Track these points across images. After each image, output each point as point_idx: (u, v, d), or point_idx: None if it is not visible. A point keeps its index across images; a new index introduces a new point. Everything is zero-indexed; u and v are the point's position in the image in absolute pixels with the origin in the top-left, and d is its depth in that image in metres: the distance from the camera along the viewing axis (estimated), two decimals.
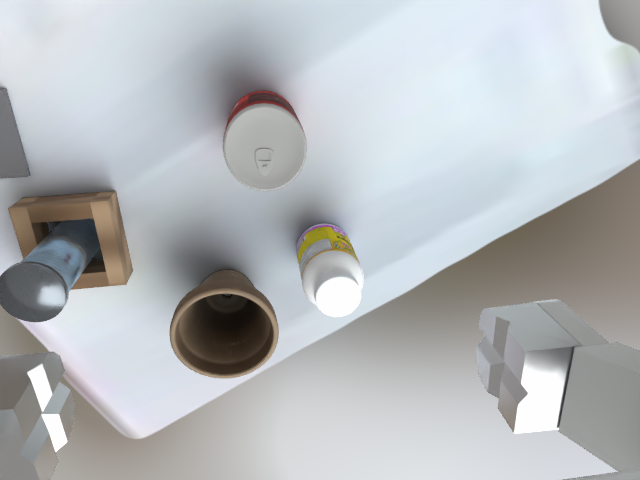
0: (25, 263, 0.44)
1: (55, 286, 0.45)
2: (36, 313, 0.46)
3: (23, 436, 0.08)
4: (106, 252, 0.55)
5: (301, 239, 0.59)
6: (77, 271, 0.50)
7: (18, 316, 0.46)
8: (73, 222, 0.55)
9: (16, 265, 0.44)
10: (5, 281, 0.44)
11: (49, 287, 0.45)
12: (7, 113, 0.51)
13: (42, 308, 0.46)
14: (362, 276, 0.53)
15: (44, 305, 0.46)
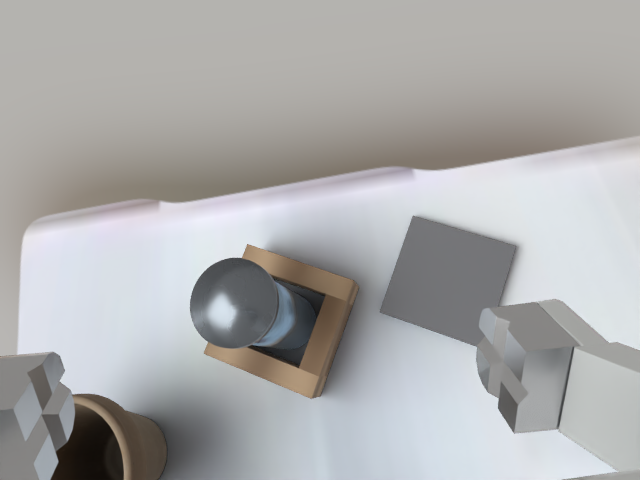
0: (273, 320, 0.32)
1: (226, 338, 0.32)
2: (205, 291, 0.33)
3: (23, 436, 0.08)
4: (251, 356, 0.42)
5: None
6: None
7: (213, 267, 0.33)
8: (305, 334, 0.42)
9: (276, 308, 0.32)
10: (262, 283, 0.32)
11: (228, 329, 0.32)
12: (457, 334, 0.41)
13: (208, 303, 0.32)
14: None
15: (210, 308, 0.32)
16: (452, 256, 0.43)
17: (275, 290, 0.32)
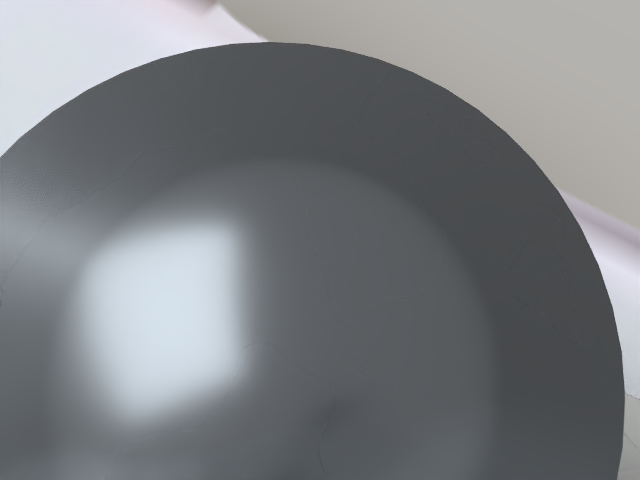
0: None
1: None
2: (164, 136, 0.05)
3: None
4: None
5: None
6: None
7: (305, 60, 0.05)
8: None
9: None
10: (550, 353, 0.04)
11: None
12: None
13: (129, 210, 0.04)
14: None
15: (111, 247, 0.04)
16: None
17: None
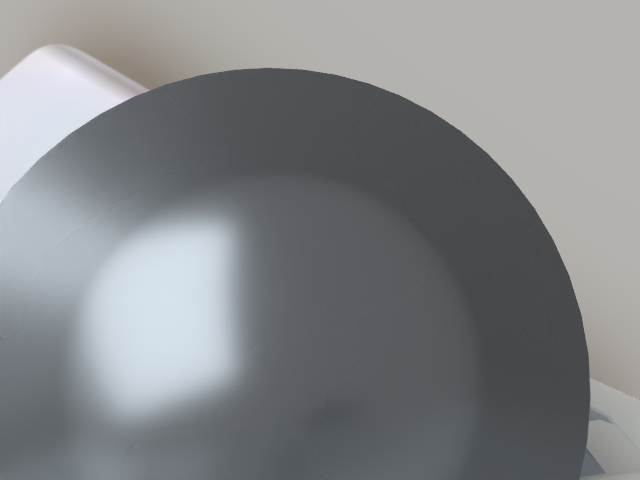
0: None
1: None
2: (170, 157, 0.05)
3: None
4: None
5: None
6: None
7: (301, 85, 0.06)
8: None
9: None
10: (522, 355, 0.05)
11: None
12: None
13: (140, 226, 0.05)
14: None
15: (124, 260, 0.05)
16: None
17: None
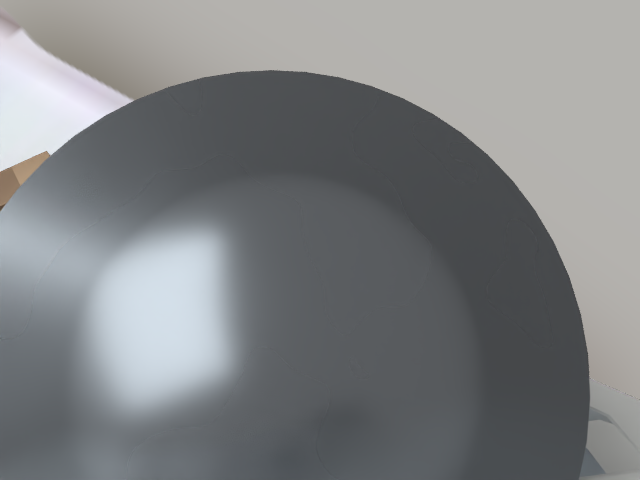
0: None
1: None
2: (174, 160, 0.05)
3: None
4: None
5: None
6: None
7: (303, 87, 0.06)
8: None
9: None
10: (522, 356, 0.05)
11: None
12: None
13: (143, 227, 0.05)
14: None
15: (129, 262, 0.05)
16: None
17: None
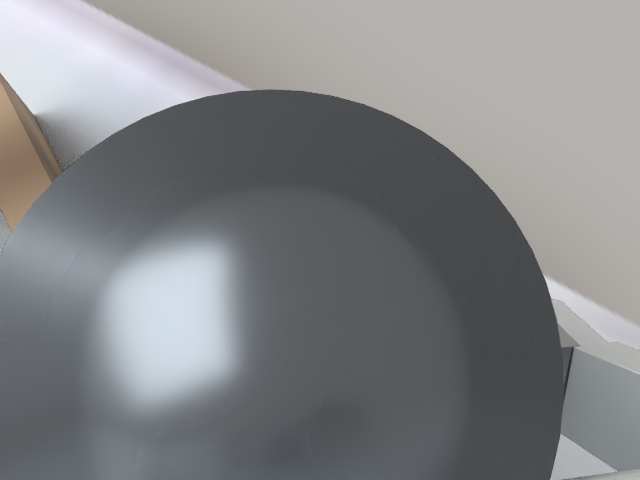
0: None
1: None
2: (178, 173, 0.06)
3: None
4: None
5: None
6: None
7: (300, 105, 0.06)
8: None
9: None
10: (502, 356, 0.05)
11: (135, 477, 0.04)
12: None
13: (151, 238, 0.05)
14: None
15: (137, 269, 0.05)
16: None
17: None
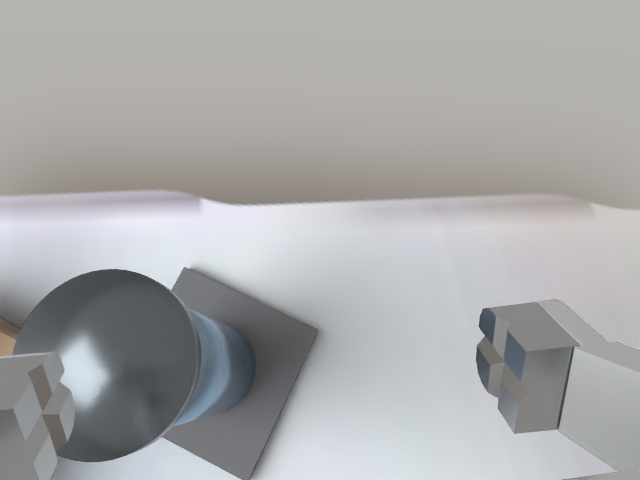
0: (184, 406, 0.15)
1: (79, 439, 0.15)
2: (47, 333, 0.16)
3: (23, 436, 0.08)
4: None
5: None
6: None
7: (72, 285, 0.16)
8: (238, 396, 0.26)
9: (192, 382, 0.16)
10: (170, 327, 0.16)
11: (86, 420, 0.15)
12: (211, 455, 0.28)
13: None
14: None
15: None
16: None
17: (195, 344, 0.16)
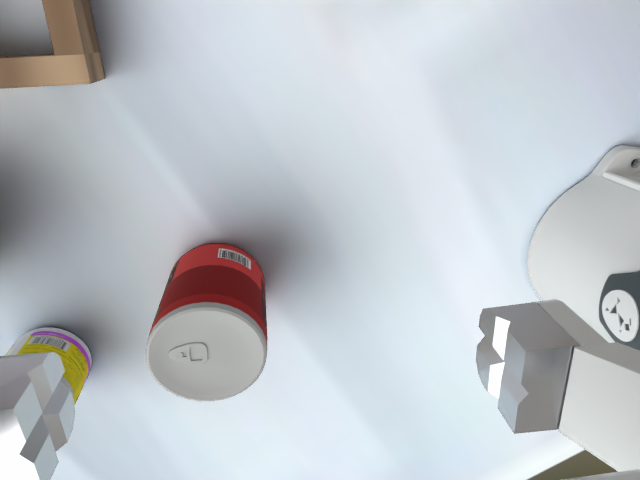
0: None
1: None
2: None
3: (23, 436, 0.08)
4: None
5: (63, 339, 0.42)
6: None
7: None
8: None
9: None
10: None
11: None
12: None
13: None
14: None
15: None
16: None
17: None
